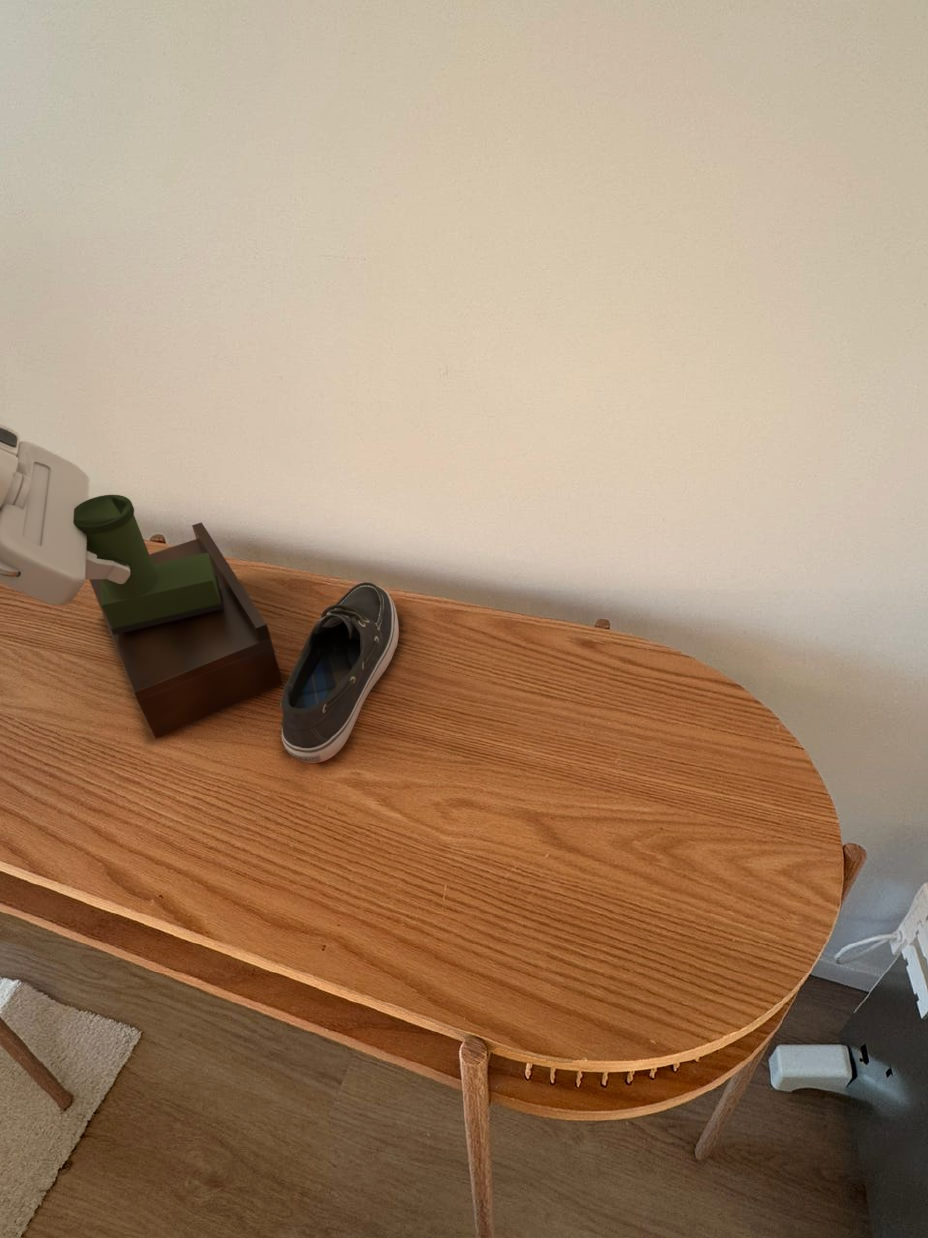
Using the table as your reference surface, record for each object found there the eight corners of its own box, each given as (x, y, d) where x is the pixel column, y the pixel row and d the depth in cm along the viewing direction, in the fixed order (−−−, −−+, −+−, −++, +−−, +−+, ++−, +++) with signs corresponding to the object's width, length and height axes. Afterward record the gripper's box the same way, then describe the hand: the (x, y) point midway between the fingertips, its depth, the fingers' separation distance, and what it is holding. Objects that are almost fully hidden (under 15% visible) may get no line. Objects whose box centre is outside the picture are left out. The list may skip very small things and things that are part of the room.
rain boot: (113, 635, 76) (65, 532, 67) (113, 603, 80) (67, 501, 71) (223, 609, 78) (190, 507, 70) (218, 579, 82) (186, 479, 74)
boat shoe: (348, 597, 92) (340, 542, 86) (416, 608, 90) (412, 553, 84) (254, 756, 73) (235, 700, 68) (336, 775, 72) (324, 718, 66)
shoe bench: (155, 738, 75) (127, 678, 69) (107, 619, 89) (80, 560, 83) (283, 684, 81) (267, 623, 75) (219, 579, 95) (201, 522, 89)
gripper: (-24, 528, 57) (147, 595, 65) (3, 415, 71) (140, 483, 80) (-60, 586, 58) (111, 643, 67) (-26, 465, 73) (111, 525, 82)
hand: (127, 555), depth 74 cm, fingers closed on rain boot, 5 cm apart
